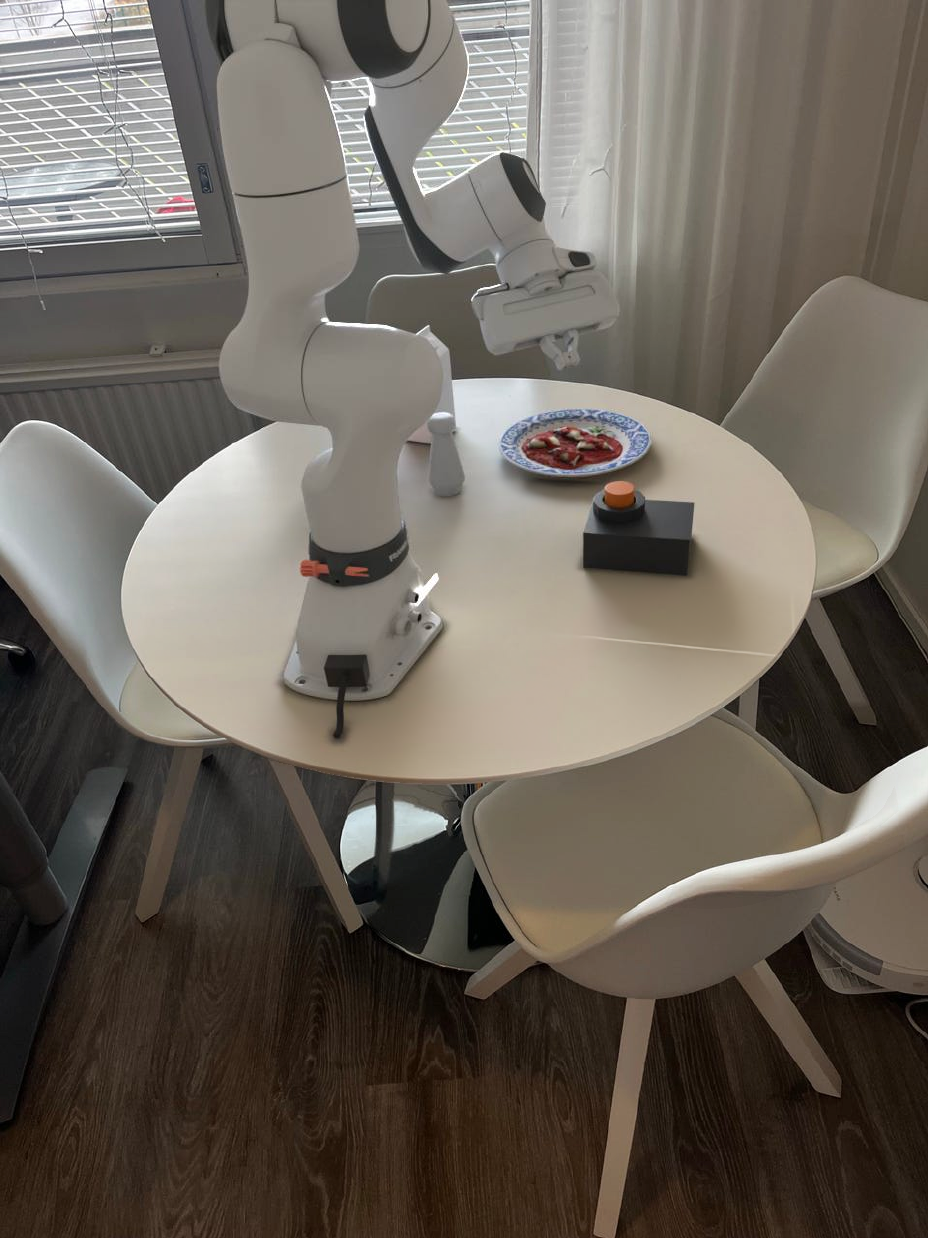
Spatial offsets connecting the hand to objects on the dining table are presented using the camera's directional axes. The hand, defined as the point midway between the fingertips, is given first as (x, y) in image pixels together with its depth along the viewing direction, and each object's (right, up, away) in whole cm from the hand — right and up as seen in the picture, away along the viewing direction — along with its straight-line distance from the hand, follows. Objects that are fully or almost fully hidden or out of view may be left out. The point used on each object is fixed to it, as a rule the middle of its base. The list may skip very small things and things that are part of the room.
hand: (569, 365), depth 121 cm
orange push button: (+7, -19, -1) cm, 20 cm away
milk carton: (-21, -2, +38) cm, 44 cm away
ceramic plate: (+4, -7, +28) cm, 30 cm away
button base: (+10, -26, +2) cm, 28 cm away
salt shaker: (-17, -14, +21) cm, 31 cm away
